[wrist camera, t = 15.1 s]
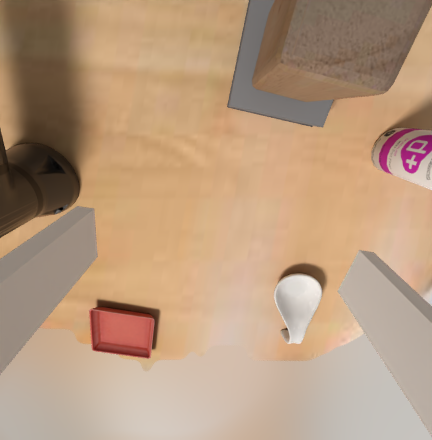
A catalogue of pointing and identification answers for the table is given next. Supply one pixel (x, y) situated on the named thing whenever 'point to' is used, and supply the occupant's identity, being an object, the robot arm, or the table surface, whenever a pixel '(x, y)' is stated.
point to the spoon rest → (297, 304)
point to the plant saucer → (121, 332)
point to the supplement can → (405, 155)
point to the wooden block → (336, 47)
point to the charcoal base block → (260, 100)
